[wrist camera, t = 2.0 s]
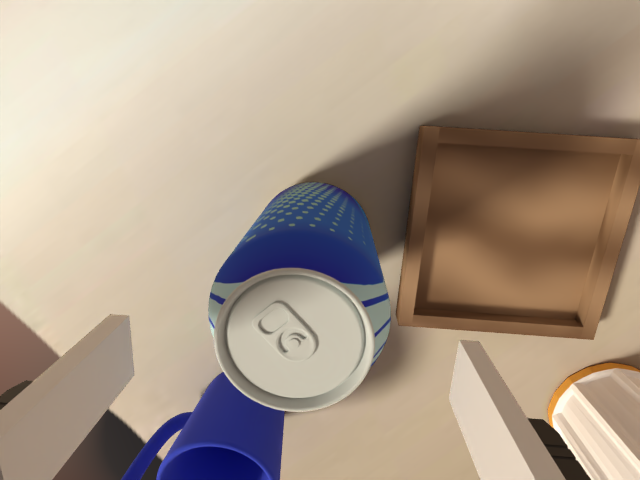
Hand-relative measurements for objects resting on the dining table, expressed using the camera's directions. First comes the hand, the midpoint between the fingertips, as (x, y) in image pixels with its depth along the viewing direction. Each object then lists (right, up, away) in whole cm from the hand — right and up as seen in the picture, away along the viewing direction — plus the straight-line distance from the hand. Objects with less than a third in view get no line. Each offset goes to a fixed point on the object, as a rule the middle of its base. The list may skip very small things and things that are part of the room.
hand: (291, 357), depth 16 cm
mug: (-7, -9, +21) cm, 24 cm away
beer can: (+1, +5, +16) cm, 17 cm away
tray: (+15, +5, +15) cm, 22 cm away
